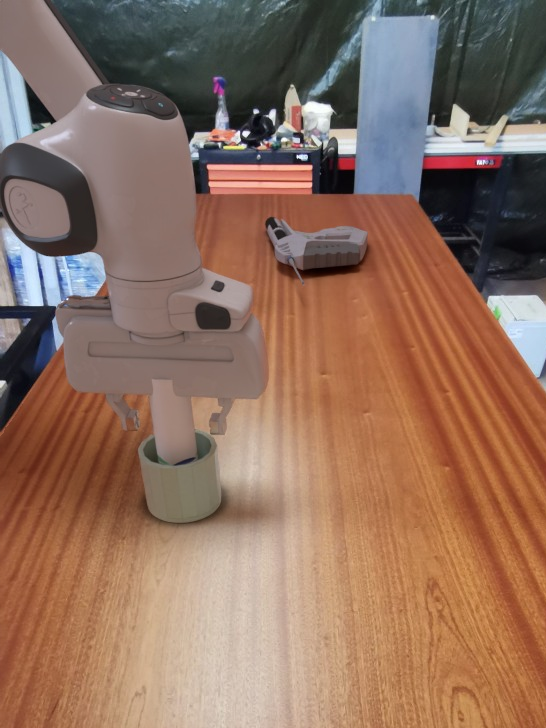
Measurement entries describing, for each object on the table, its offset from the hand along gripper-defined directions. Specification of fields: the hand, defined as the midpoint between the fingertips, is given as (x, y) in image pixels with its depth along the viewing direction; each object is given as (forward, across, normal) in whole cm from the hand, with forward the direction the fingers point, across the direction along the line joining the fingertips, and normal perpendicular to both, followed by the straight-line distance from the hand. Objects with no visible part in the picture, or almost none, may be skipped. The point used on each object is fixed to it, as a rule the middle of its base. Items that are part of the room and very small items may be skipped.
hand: (175, 430), depth 78 cm
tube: (+9, 0, 0) cm, 9 cm away
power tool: (+9, +9, +83) cm, 84 cm away
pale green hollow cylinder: (+9, 0, 0) cm, 9 cm away
